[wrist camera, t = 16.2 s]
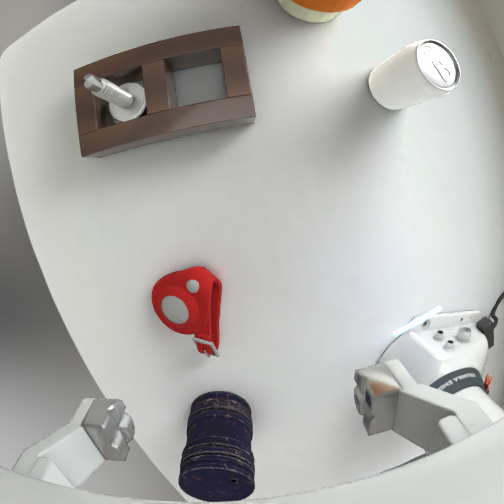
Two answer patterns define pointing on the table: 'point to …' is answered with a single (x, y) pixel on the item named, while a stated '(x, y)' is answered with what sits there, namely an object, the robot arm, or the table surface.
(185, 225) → the table surface
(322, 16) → the reusable coffee cup
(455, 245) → the table surface
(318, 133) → the table surface
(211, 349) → the tracker holder
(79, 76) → the holder
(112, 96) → the screw
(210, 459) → the dark blue cylinder
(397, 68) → the can
